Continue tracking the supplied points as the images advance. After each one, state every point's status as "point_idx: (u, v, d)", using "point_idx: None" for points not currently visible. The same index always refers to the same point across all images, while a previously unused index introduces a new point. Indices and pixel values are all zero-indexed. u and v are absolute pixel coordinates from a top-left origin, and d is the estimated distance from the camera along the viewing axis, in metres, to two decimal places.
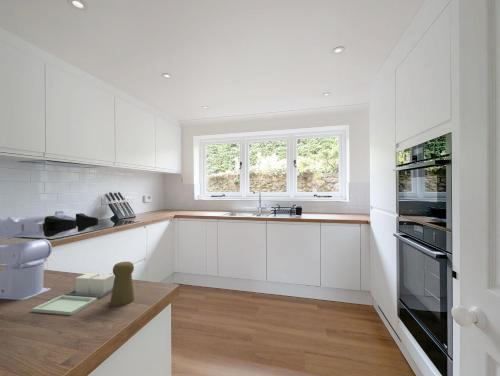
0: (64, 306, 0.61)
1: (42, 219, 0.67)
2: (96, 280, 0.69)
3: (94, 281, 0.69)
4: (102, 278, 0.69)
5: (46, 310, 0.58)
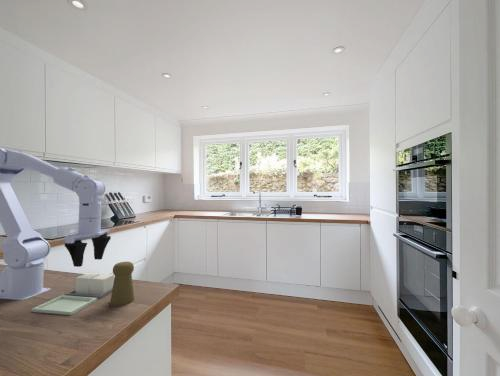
0: (64, 306, 0.61)
1: (90, 223, 0.70)
2: (96, 280, 0.69)
3: (94, 281, 0.69)
4: (102, 278, 0.69)
5: (46, 310, 0.58)
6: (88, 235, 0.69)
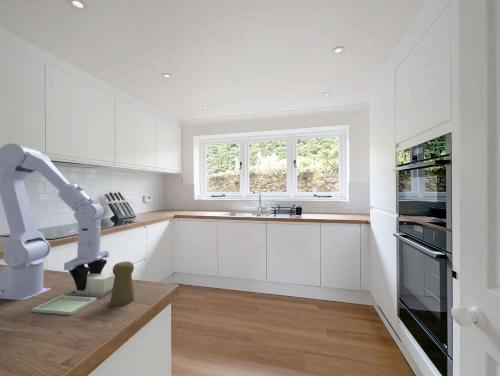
0: (64, 306, 0.61)
1: (89, 248, 0.69)
2: (96, 280, 0.69)
3: (94, 281, 0.69)
4: (102, 278, 0.69)
5: (46, 310, 0.58)
6: (87, 260, 0.69)
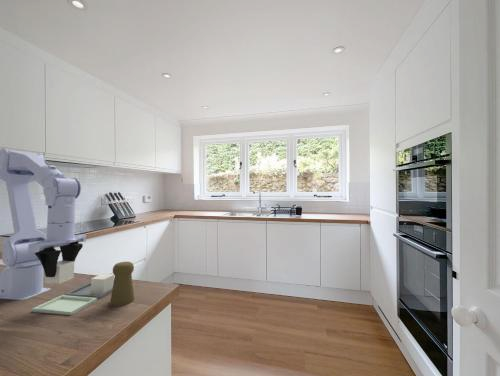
0: (64, 306, 0.61)
1: (60, 229, 0.60)
2: (96, 280, 0.69)
3: (94, 281, 0.69)
4: (102, 278, 0.69)
5: (46, 310, 0.58)
6: (57, 242, 0.59)
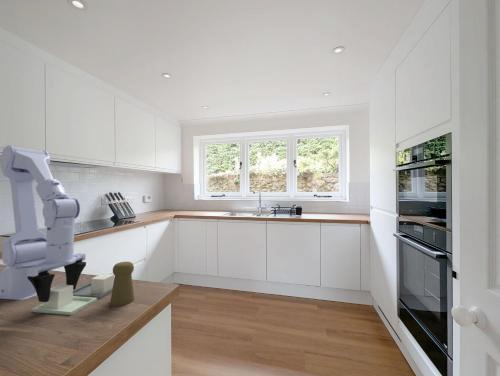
0: (64, 306, 0.61)
1: (59, 250, 0.60)
2: (96, 280, 0.69)
3: (94, 281, 0.69)
4: (102, 278, 0.69)
5: (46, 310, 0.58)
6: (56, 265, 0.59)
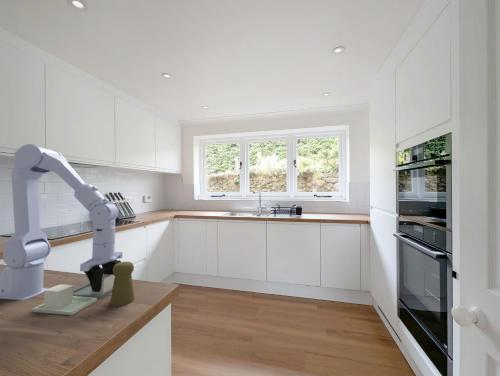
0: (64, 306, 0.61)
1: (104, 249, 0.69)
2: None
3: None
4: (102, 278, 0.69)
5: (46, 310, 0.58)
6: (102, 261, 0.68)
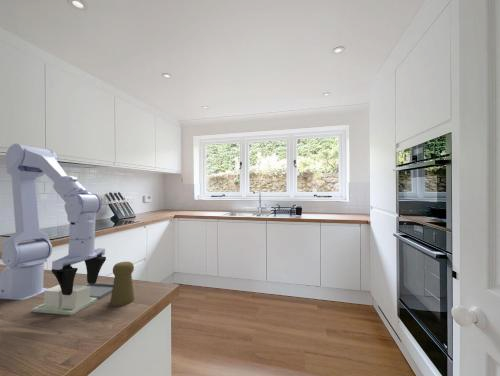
0: None
1: (81, 245, 0.61)
2: None
3: None
4: (76, 290, 0.60)
5: (46, 310, 0.58)
6: (79, 258, 0.60)
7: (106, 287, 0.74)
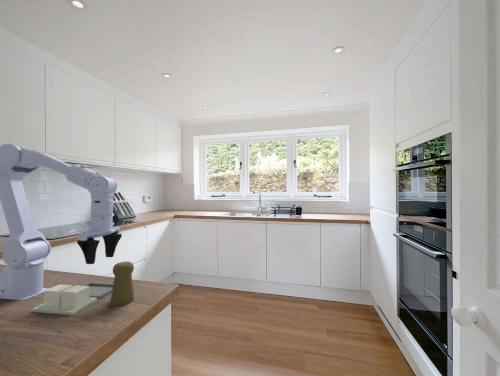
0: None
1: (102, 221, 0.69)
2: (67, 293, 0.59)
3: (66, 294, 0.59)
4: (75, 291, 0.60)
5: (46, 310, 0.58)
6: (100, 232, 0.68)
7: (106, 287, 0.74)
